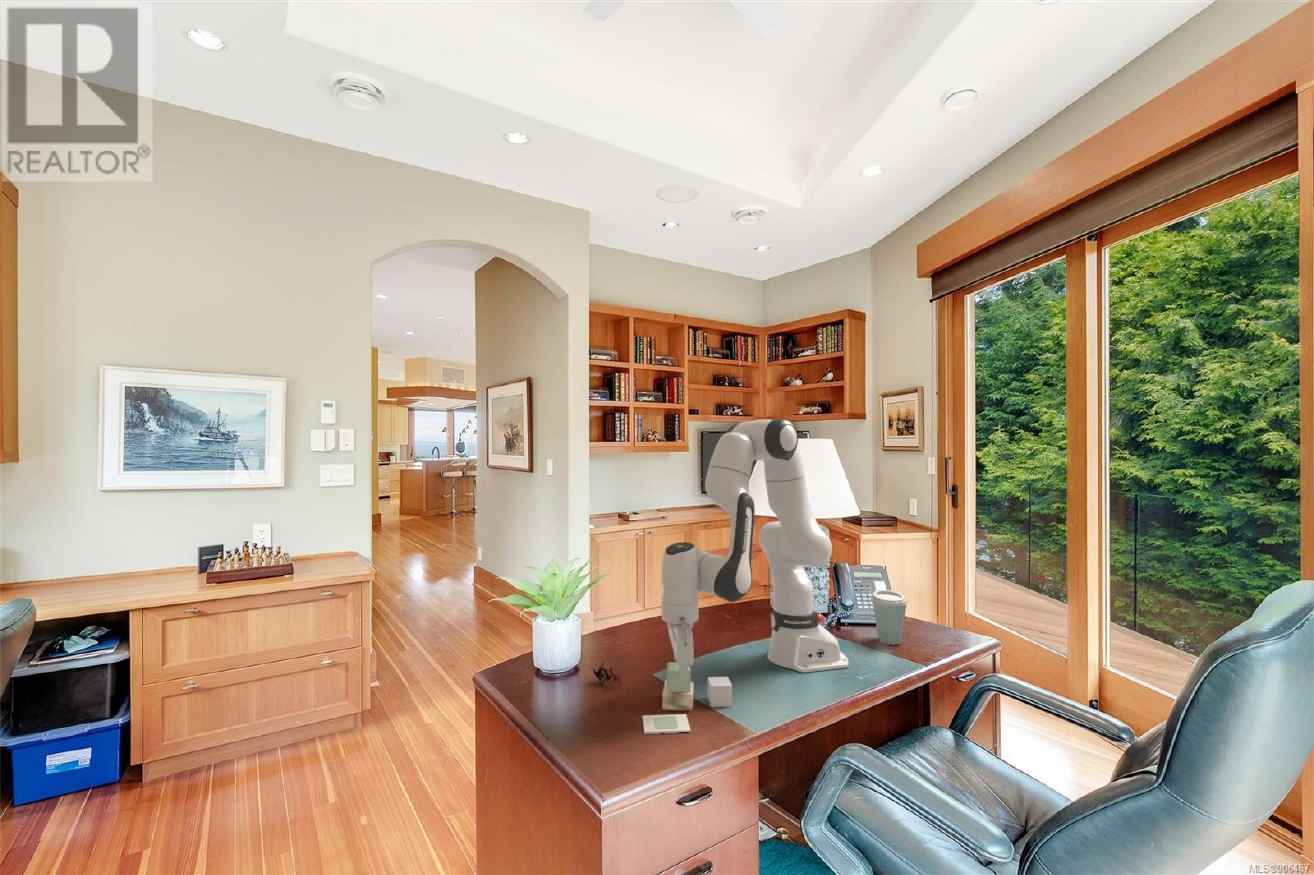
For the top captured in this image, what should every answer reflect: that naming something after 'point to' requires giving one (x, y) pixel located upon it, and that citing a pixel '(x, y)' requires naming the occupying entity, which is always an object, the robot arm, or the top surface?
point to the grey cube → (719, 692)
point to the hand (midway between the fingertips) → (680, 669)
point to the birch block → (677, 699)
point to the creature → (600, 675)
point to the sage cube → (677, 679)
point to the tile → (665, 724)
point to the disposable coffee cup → (889, 615)
